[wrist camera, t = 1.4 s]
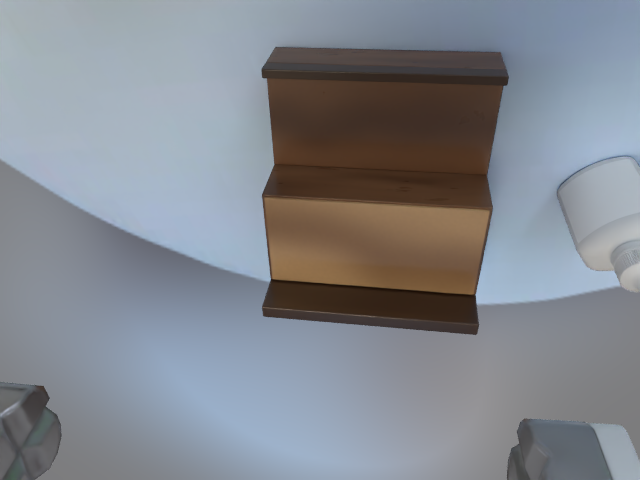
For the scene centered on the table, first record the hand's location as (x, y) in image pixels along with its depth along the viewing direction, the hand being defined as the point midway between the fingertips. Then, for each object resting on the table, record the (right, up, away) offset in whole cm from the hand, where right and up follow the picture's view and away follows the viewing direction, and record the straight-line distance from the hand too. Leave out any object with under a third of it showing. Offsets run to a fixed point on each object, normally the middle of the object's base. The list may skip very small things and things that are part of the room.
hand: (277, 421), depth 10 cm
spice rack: (+5, +9, +32) cm, 34 cm away
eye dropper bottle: (+21, +7, +31) cm, 38 cm away
